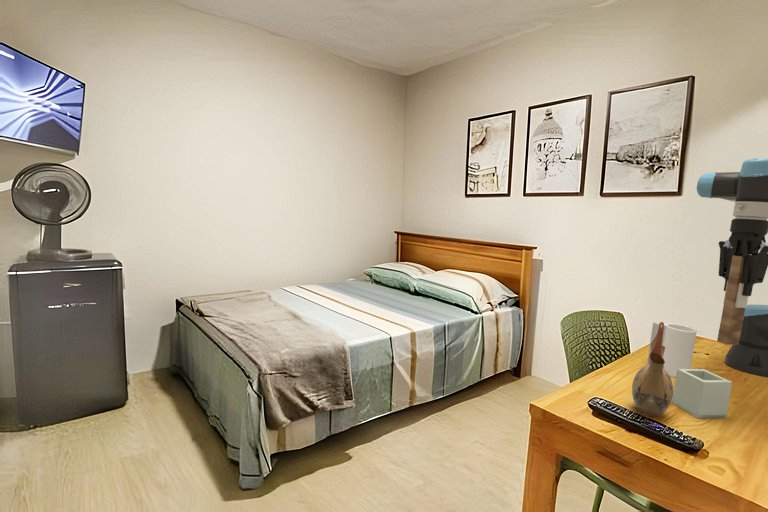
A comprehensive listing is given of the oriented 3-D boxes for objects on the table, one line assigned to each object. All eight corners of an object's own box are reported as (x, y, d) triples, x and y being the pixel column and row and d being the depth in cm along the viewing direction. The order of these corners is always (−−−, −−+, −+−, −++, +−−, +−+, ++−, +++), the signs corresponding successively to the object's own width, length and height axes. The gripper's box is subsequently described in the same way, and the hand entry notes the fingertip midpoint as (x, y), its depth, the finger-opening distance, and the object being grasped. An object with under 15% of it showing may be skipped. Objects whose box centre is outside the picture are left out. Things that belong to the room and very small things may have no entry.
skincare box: (665, 360, 150) (671, 320, 148) (680, 366, 144) (686, 326, 142) (646, 360, 148) (652, 321, 146) (660, 367, 143) (667, 326, 141)
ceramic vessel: (669, 432, 100) (685, 333, 97) (626, 419, 105) (640, 325, 102) (668, 406, 114) (682, 319, 110) (631, 396, 119) (643, 312, 115)
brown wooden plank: (729, 341, 114) (745, 256, 110) (738, 344, 111) (754, 257, 108) (717, 341, 113) (732, 255, 110) (725, 344, 110) (741, 256, 107)
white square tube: (697, 402, 117) (703, 368, 116) (725, 417, 109) (732, 382, 108) (671, 402, 116) (677, 369, 115) (698, 418, 108) (704, 382, 106)
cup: (694, 379, 133) (702, 332, 131) (666, 376, 135) (673, 329, 133) (681, 370, 141) (688, 325, 139) (655, 366, 143) (662, 322, 141)
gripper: (711, 216, 115) (696, 298, 118) (770, 219, 99) (752, 313, 102) (734, 218, 116) (719, 299, 119) (796, 221, 101) (777, 314, 104)
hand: (734, 305), depth 111 cm, fingers closed on brown wooden plank, 2 cm apart
